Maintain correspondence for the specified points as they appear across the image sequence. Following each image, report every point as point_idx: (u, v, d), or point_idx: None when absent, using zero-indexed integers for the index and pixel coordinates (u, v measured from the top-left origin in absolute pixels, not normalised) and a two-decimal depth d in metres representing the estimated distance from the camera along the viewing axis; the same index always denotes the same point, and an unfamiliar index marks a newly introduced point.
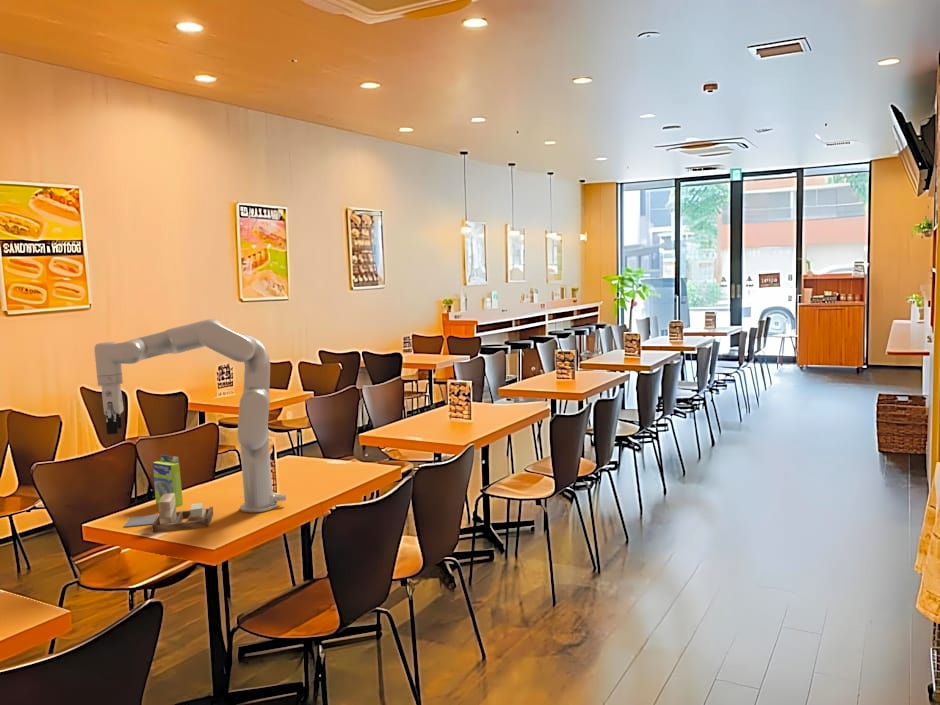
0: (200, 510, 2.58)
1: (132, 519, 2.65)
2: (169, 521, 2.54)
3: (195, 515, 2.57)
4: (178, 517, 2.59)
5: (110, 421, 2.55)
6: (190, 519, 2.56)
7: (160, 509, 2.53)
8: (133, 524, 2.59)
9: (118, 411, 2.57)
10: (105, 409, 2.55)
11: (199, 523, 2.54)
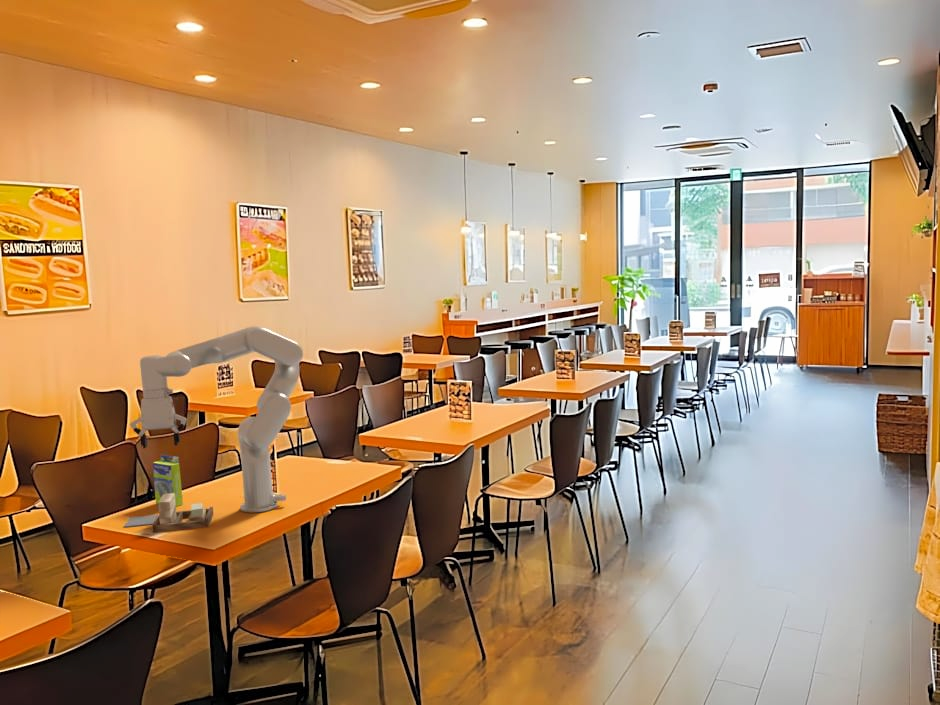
0: (201, 510, 2.58)
1: (132, 519, 2.65)
2: (169, 521, 2.54)
3: (195, 515, 2.57)
4: (178, 517, 2.59)
5: None
6: (191, 519, 2.56)
7: (160, 509, 2.53)
8: (133, 524, 2.59)
9: None
10: (173, 420, 2.55)
11: (199, 523, 2.54)
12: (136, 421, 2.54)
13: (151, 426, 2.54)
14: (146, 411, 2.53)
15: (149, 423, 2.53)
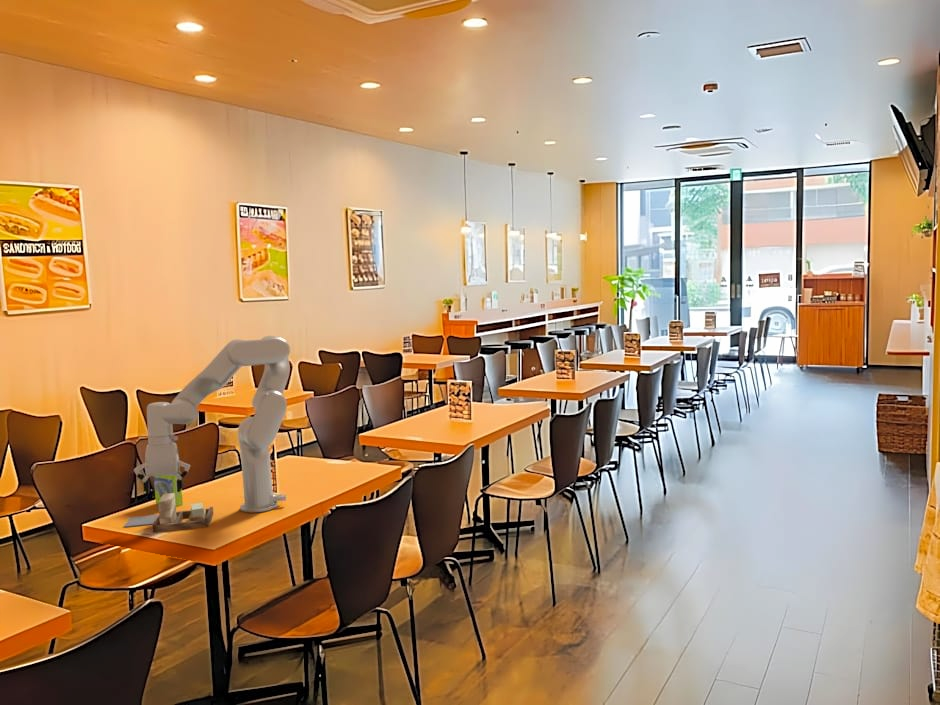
0: (202, 510, 2.58)
1: (132, 519, 2.65)
2: (169, 521, 2.54)
3: (196, 515, 2.57)
4: (178, 517, 2.59)
5: None
6: (191, 519, 2.56)
7: (160, 509, 2.53)
8: (133, 524, 2.59)
9: None
10: (177, 467, 2.57)
11: (199, 523, 2.54)
12: (140, 467, 2.55)
13: (155, 472, 2.55)
14: (150, 457, 2.54)
15: (153, 469, 2.54)
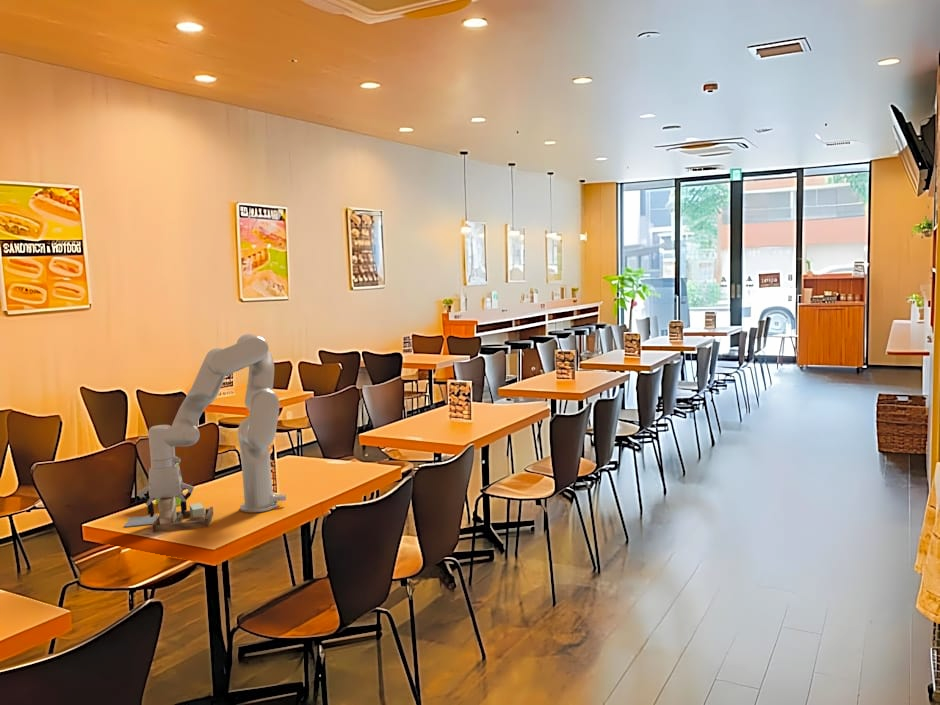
0: (202, 510, 2.58)
1: (132, 519, 2.65)
2: (169, 521, 2.54)
3: (197, 515, 2.57)
4: (178, 517, 2.59)
5: (186, 499, 2.60)
6: (191, 519, 2.56)
7: (160, 509, 2.53)
8: (133, 524, 2.59)
9: None
10: (181, 489, 2.58)
11: (199, 523, 2.54)
12: (144, 490, 2.56)
13: (158, 495, 2.56)
14: (154, 480, 2.55)
15: (157, 492, 2.55)
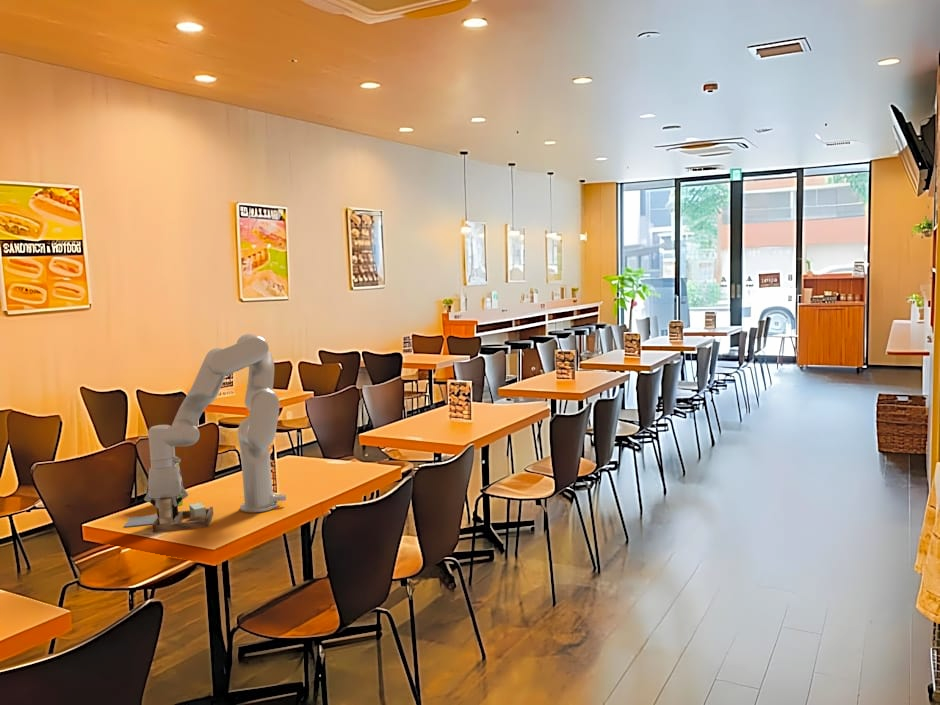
0: (204, 509, 2.58)
1: (132, 519, 2.65)
2: (169, 521, 2.54)
3: (199, 514, 2.58)
4: (178, 517, 2.59)
5: (177, 504, 2.59)
6: (192, 519, 2.56)
7: (160, 509, 2.53)
8: (133, 524, 2.59)
9: None
10: None
11: (199, 523, 2.54)
12: (148, 494, 2.56)
13: (158, 495, 2.56)
14: (154, 480, 2.55)
15: (156, 492, 2.55)
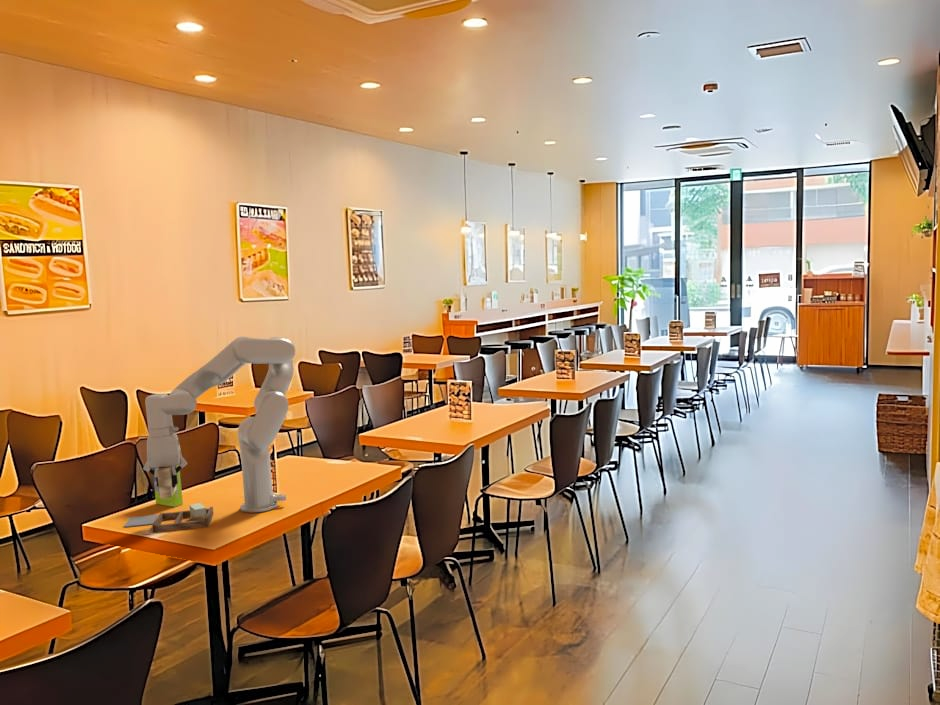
0: (204, 509, 2.58)
1: (132, 519, 2.65)
2: (168, 490, 2.54)
3: (199, 515, 2.58)
4: (178, 517, 2.59)
5: None
6: (192, 519, 2.56)
7: (159, 478, 2.53)
8: (133, 524, 2.59)
9: None
10: None
11: (199, 523, 2.54)
12: (147, 463, 2.56)
13: (157, 464, 2.55)
14: (152, 449, 2.54)
15: (155, 461, 2.55)
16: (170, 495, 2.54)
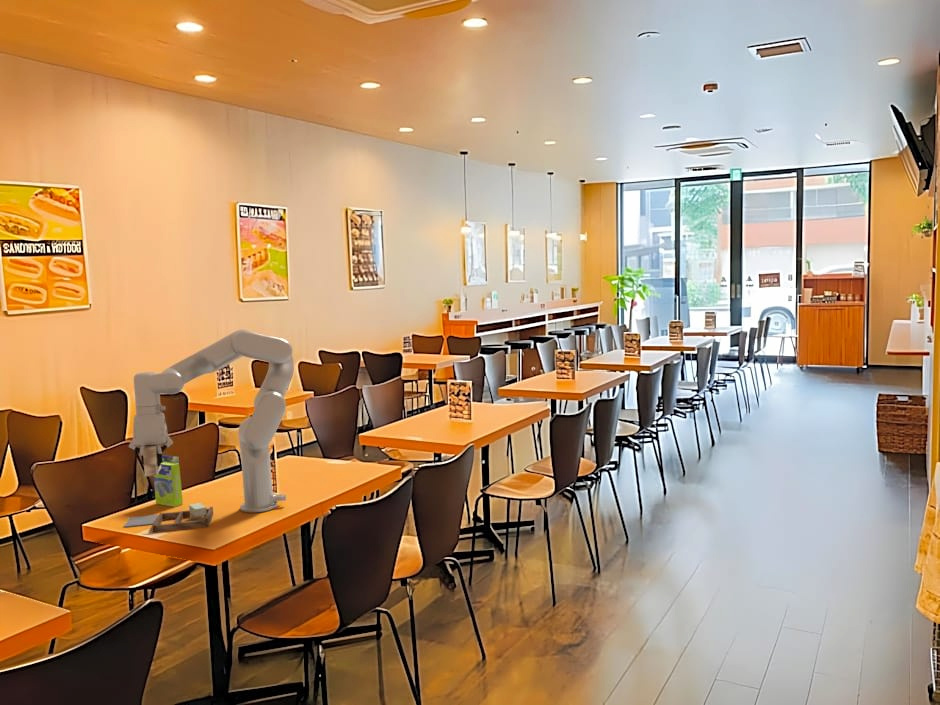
0: (204, 509, 2.59)
1: (132, 519, 2.65)
2: (154, 468, 2.54)
3: (199, 514, 2.58)
4: (178, 517, 2.59)
5: None
6: (192, 519, 2.56)
7: (145, 456, 2.53)
8: (133, 524, 2.59)
9: None
10: None
11: (199, 523, 2.54)
12: (132, 441, 2.56)
13: (143, 442, 2.55)
14: (138, 427, 2.54)
15: (141, 439, 2.55)
16: (155, 473, 2.54)
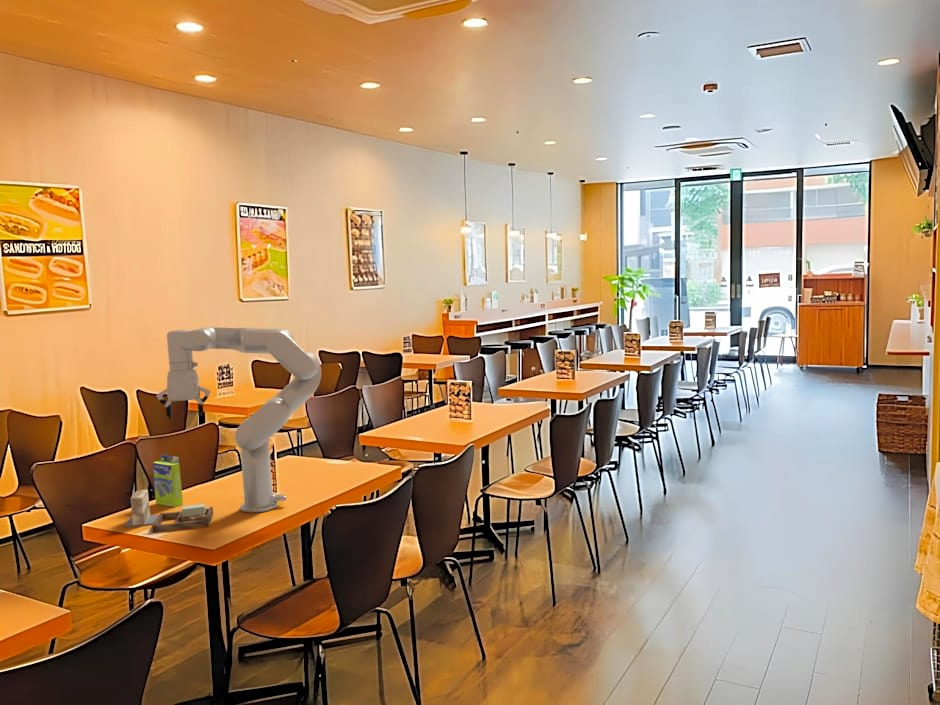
0: None
1: None
2: (141, 517, 2.59)
3: (205, 511, 2.61)
4: (178, 517, 2.59)
5: (203, 402, 2.68)
6: (194, 519, 2.56)
7: (133, 505, 2.58)
8: None
9: None
10: (198, 392, 2.67)
11: (199, 523, 2.54)
12: (162, 392, 2.65)
13: (177, 397, 2.65)
14: (172, 382, 2.64)
15: (175, 394, 2.64)
16: (143, 522, 2.59)
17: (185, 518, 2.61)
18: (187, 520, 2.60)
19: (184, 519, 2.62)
